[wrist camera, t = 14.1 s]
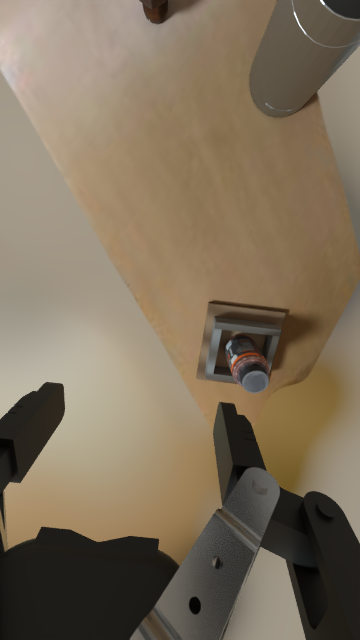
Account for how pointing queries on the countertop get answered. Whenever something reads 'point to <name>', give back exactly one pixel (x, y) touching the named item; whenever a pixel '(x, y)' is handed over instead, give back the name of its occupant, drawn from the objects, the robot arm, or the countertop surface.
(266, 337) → the socket board
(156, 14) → the bolt
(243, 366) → the supplement bottle
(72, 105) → the countertop surface
